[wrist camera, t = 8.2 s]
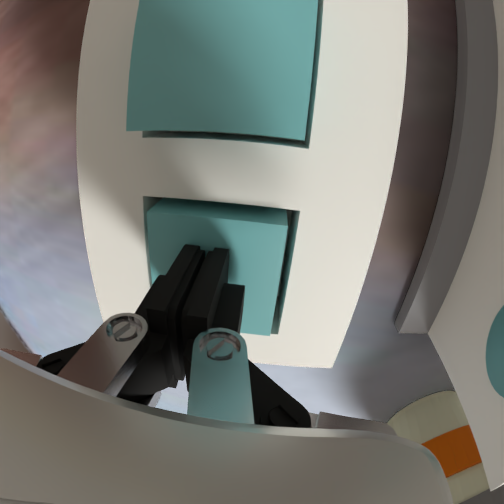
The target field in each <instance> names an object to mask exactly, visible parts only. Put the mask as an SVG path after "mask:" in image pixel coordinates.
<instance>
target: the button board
mask: <svg viewBox="0 0 504 504" xmlns="http://www.w3.org/2000/svg"><path fill="white" fill-rule="evenodd" d="M138 6H139V0H90V4H89V8H88V13H87V18H86V23H85V29H84V35H83V41H82V48H81V56H80V65H79V76H78V89H77V112H76V146H77V169H78V184H79V195H80V204H81V213H82V221H83V228H84V235H85V241H86V247H87V253H88V258H89V263H90V268H91V273H92V278H93V283H94V287H95V291H96V296H97V300H98V304H99V308H100V311H101V315H102V319H103V322H105V321H106V320H107V319H108V318H110V317H111V316H114V315H116V314H120V313H135V312H136V310H137V308H138V307H139V305H140V304H141V302H142V300H143V299H144V297H145V296H146V294H147V292H148V291H149V289H150V288H151V286H152V277H151V267H150V256H149V244H148V229H147V211H148V210H149V209H151V208H152V207H153V206H154V205H155V204H156V203H158V202H159V201H160V200H161V199H163V198H164V197H166V198H180V199H192V200H204V201H215V202H226V203H236V204H246V205H255V206H264V207H273V208H282V209H286V212H287V221H288V229H287V236H286V243H285V249H284V256H283V262H282V268H281V275H280V281H279V287H278V293H277V299H276V305H275V311H274V316H273V322H272V328H271V333H270V336H264V335H255V334H246V333H240V335H241V336H242V337H243V338H244V340H245V342H246V345H247V354H248V359H249V360H250V361H251V362H253V363H262V364H273V365H284V366H298V367H315V368H332V367H333V364H334V362H335V359H336V357H337V355H338V352H339V350H340V347H341V345H342V342H343V340H344V337H345V334H346V332H347V329H348V326H349V324H350V321H351V318H352V316H353V313H354V310H355V307H356V304H357V301H358V298H359V295H360V292H361V289H362V286H363V283H364V280H365V277H366V274H367V270H368V267H369V264H370V261H371V257H372V254H373V250H374V247H375V243H376V239H377V236H378V232H379V228H380V224H381V220H382V216H383V212H384V208H385V204H386V199H387V195H388V190H389V186H390V181H391V176H392V171H393V166H394V160H395V155H396V149H397V143H398V137H399V130H400V123H401V116H402V108H403V99H404V89H405V78H406V64H407V42H408V2H407V0H318V9H317V23H316V36H315V47H314V59H313V69H312V79H311V89H310V98H309V107H308V116H307V125H306V133H305V141H304V140H296V139H289V138H281V137H272V136H263V135H252V134H240V133H226V132H208V131H126V118H127V97H128V82H129V70H130V60H131V52H132V44H133V36H134V29H135V23H136V17H137V11H138Z"/></svg>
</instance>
